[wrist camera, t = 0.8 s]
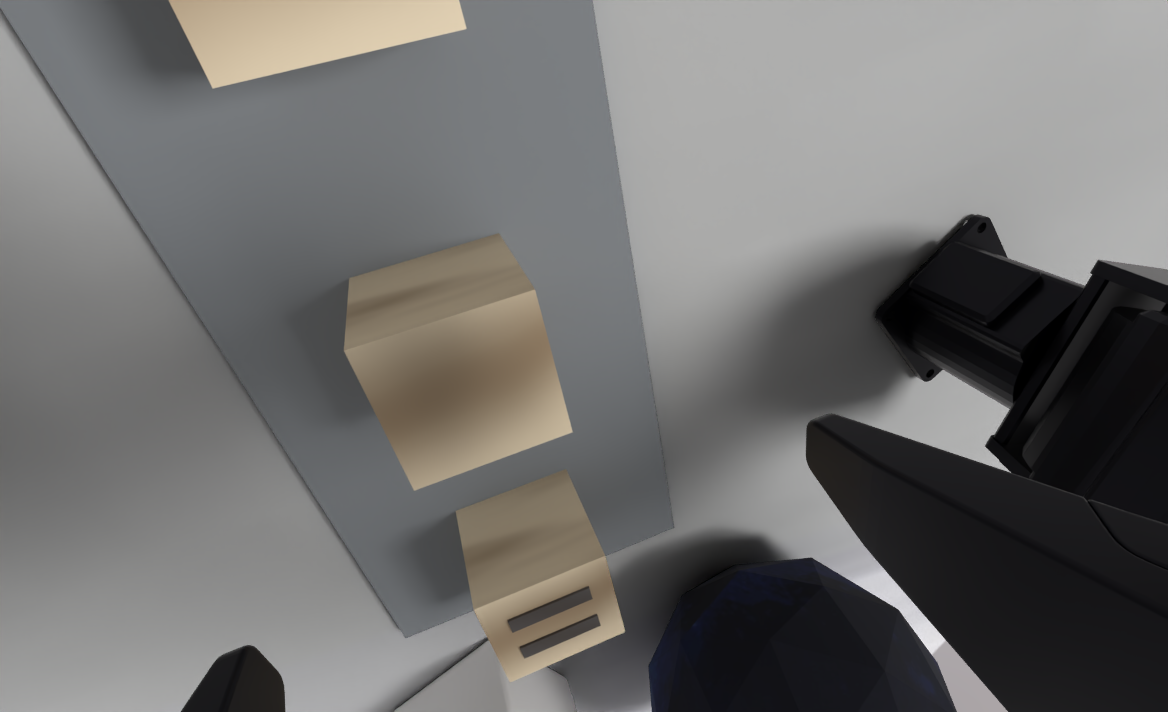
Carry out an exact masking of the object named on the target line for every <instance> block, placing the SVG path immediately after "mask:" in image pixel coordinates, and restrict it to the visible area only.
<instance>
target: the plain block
mask: <svg viewBox="0 0 1168 712" xmlns="http://www.w3.org/2000/svg"><path fill="white" fill-rule="evenodd" d="M344 352H345V354H346V356H347V358H348V360H349V362H350V364H351V366H352V368H353V370H354V372H355V374H356V376H357V378H358V380H359V382H360V384H361V386H362V388H363V390H364V392H365V394H366V396H367V398H368V400H369V402H370V404H371V406H372V408H373V410H374V412H375V414H376V416H377V418H378V420H379V422H380V424H381V426H382V428H383V430H384V432H385V434H386V436H387V438H388V440H389V442H390V444H391V446H392V448H393V450H394V452H395V454H396V456H397V458H398V460H399V462H400V464H401V466H402V468H403V470H404V472H405V474H406V476H407V478H408V480H409V482H410V484H411V486H412V488H413V490H414V491H415V490H418V489H420V488H423V487H426V486H429V485H431V484H434V483H437V482H439V481H442V480H445V479H447V478H450V477H453V476H456V475H458V474H461V473H464V472H466V471H469V470H472V469H475V468H477V467H480V466H483V465H485V464H488V463H491V462H493V461H496V460H499V459H502V458H504V457H507V456H510V455H512V454H515V453H518V452H521V451H523V450H526V449H529V448H531V447H534V446H537V445H540V444H542V443H545V442H548V441H550V440H553V439H556V438H558V437H561V436H564V435H567V434H569V433H572V432H573V431H572V427H571V424H570V420H569V416H568V412H567V409H566V405H565V401H564V397H563V393H562V390H561V386H560V382H559V378H558V374H557V371H556V367H555V363H554V359H553V356H552V352H551V348H550V344H549V340H548V337H547V333H546V329H545V325H544V321H543V318H542V314H541V310H540V306H539V303H538V299H537V295H536V291H535V289H534V287H533V285H532V284H531V282H530V281H529V279H528V278H527V276H526V275H525V273H524V271H523V270H522V268H521V267H520V265H519V264H518V262H517V261H516V259H515V257H514V256H513V254H512V253H511V251H510V250H509V248H508V247H507V245H506V243H505V242H504V240H503V239H502V237H501V236H500V234H499V233H498V234H495V235H491V236H488V237H485V238H481V239H478V240H475V241H471V242H468V243H465V244H461V245H458V246H455V247H451V248H448V249H445V250H441V251H438V252H435V253H431V254H428V255H425V256H421V257H418V258H415V259H411V260H408V261H405V262H401V263H398V264H395V265H391V266H388V267H385V268H381V269H378V270H375V271H371V272H368V273H365V274H361V275H358V276H355V277H351V278H349V289H348V302H347V315H346V329H345V342H344Z"/></svg>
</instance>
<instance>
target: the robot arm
mask: <svg viewBox="0 0 1168 712" xmlns="http://www.w3.org/2000/svg"><path fill="white" fill-rule="evenodd" d="M1090 273H1091V274H1092V276H1091V277H1090V279H1089V281H1088V282H1087V284H1086V286H1084V285H1081V284H1079V283H1076V282H1073V281H1070V280H1067V279H1065V278H1062V277H1059V276H1056V275H1053V274H1051V273H1048V272H1045V271H1042V270H1039V269H1037V268H1034V267H1031V266H1028V265H1025V264H1023V263H1020V262H1017V261H1014V260H1011V259H1009V258H1007V255H1006V253H1005V251H1004V249H1003V246H1002V244H1001V242H1000V240H999V237H998V235H997V233H996V231H995V228H994V226H993V224H992V222H991V220H990V218H989V217H985V216H982V215H976V216H974V217H972V218H971V219H970V220H969V221H968V222H967V223H966V224H965V225H964V226H963V227H962V228H961V229H960V230H959V231H958V232H957V233H956V234H955V235H953V236H952V237H951V238H950V239H949V240H948V241H947V242H946V243H945V244H944V245H943V246H942V247H941V248H940V249H939V250H938V251H937V252H936V253H935V254H934V255H933V256H932V257H931V258H930V259H929V260H928V261H927V262H926V263H925V264H924V265H923V266H922V267H921V268H920V269H919V270H918V271H917V272H915V273H914V274H913V275H912V276H911V277H910V278H909V279H908V280H907V281H906V282H905V283H904V284H903V285H902V286H901V287H900V288H899V289H898V290H897V291H896V292H895V293H894V294H893V295H892V296H891V297H890V298H889V299H888V300H887V301H886V302H885V303H884V304H883V305H882V306H881V307H880V308H879V309H878V310H877V312H876V315H875V319H876V321H877V322H878V324H879V325H880V326H881V328H882V329H883V331H884V332H885V333H886V335H887V336H888V338H889V339H890V340H891V342H892V343H893V344H894V346H895V347H896V349H897V350H898V351H899V353H900V354H901V355H902V357H903V358H904V360H905V361H906V362H907V364H908V365H909V366H910V368H911V369H912V371H913V372H914V373H915V375H916V376H917V377H918V378H920V379H921V380H923V381H925V382H927V381H930V380H932V379H933V378H934V377H935V376H936V375H937V374H938V373H939V372H941V371H942V370H945V371H946V372H948V373H950V374H952V375H953V376H955V377H957V378H958V379H960V380H962V381H963V382H965V383H967V384H968V385H970V386H972V387H974V388H975V389H977V390H979V391H980V392H982V393H984V394H985V395H987V396H989V397H990V398H992V399H994V400H996V401H997V402H999V403H1001V404H1002V405H1004V406H1006V407H1007V408H1009V409H1010V410H1009V412H1008V413H1007V415H1006V417H1005V418H1004V420H1003V422H1002V423H1001V425H1000V426H999V428H998V430H997V431H996V433H995V435H991V437H990V438H989V440H988V441H987V443H986V445H985V447H986V448H987V449H988V450H989V451H990V452H991V453H992V454H994V455H995V456H996V457H997V458H998V459H999V461H1000V462H1001V463H1002V464H1003V465H1004V466H1005V467H1006V468H1007V469H1008V470H1009V471H1010V472H1011V473H1010V472H1007V471H1004V470H1001V469H998V468H995V467H992V466H989V465H986V464H983V463H980V462H977V461H974V460H971V459H968V458H965V457H962V456H959V455H956V454H953V453H950V452H947V451H944V450H941V449H938V448H935V447H932V446H929V445H926V444H923V443H920V442H917V441H914V440H911V439H908V438H905V437H902V436H899V435H896V434H893V433H890V432H887V431H884V430H881V429H878V428H875V427H872V426H869V425H866V424H863V423H860V422H857V421H854V420H851V419H848V418H845V417H842V416H839V415H836V414H826V415H823V416H821V417H818V418H816V419H813V420H811V421H810V422H809V423H808V425H807V429H806V460H807V463H808V466H809V468H810V470H811V471H812V473H813V474H814V476H815V477H816V478H817V480H818V481H819V483H820V484H821V485H822V487H823V488H824V490H825V491H826V493H827V494H828V495H829V497H830V498H831V500H832V501H833V503H834V504H835V505H836V507H837V508H838V510H839V511H840V513H841V514H842V515H843V517H844V518H845V520H846V521H847V522H848V524H849V525H850V527H851V528H852V530H853V531H854V532H855V534H856V535H857V536H858V538H859V539H860V540H861V542H862V543H863V545H864V546H865V547H866V548H867V549H868V551H869V552H870V553H871V554H872V555H873V557H874V558H875V559H876V560H877V561H878V562H879V564H880V565H881V566H882V567H883V568H884V569H885V570H886V572H887V573H888V574H889V575H890V576H891V577H892V579H893V580H894V581H895V582H896V583H897V584H898V585H899V587H900V588H901V589H902V590H903V591H904V592H905V594H906V595H907V596H908V597H909V598H910V599H911V600H912V602H913V603H914V604H915V605H916V606H917V607H918V608H919V610H920V611H921V612H922V613H923V614H924V615H925V617H926V618H927V619H928V620H929V621H930V622H931V623H932V625H933V626H934V627H935V628H936V629H937V630H938V631H939V633H940V634H941V635H942V636H943V637H944V638H945V640H946V641H947V642H948V643H949V644H950V645H951V646H952V648H953V649H954V650H955V651H956V652H957V653H958V654H959V656H960V657H961V658H962V659H963V660H964V661H965V663H967V665H968V666H969V667H970V668H971V669H972V671H973V672H974V673H975V674H976V675H977V676H978V677H979V679H980V680H981V681H982V682H983V683H984V684H985V686H986V687H987V688H988V689H989V690H990V691H991V692H992V694H993V695H994V696H995V697H996V698H997V699H998V701H999V702H1000V703H1001V704H1002V705H1003V706H1004V707H1005V708H1006V710H1007V711H1008V712H1168V270H1166V269H1161V268H1154V267H1147V266H1139V265H1132V264H1125V263H1118V262H1111V261H1104V260H1098V261H1097V262H1096V264H1095V266H1094V267H1093V269H1092V270H1091V272H1090ZM181 712H285V692H284V684H283V680H282V677H281V675H280V674H279V672H278V671H277V670H276V669H275V668H274V667H273V665H272V664H271V663H270V662H269V661H268V660H267V659H266V658H265V657H264V656H263V655H262V654H261V653H260V651H259V650H258V649H257V648H255V647H254V646H251V645H246V646H243V647H240V648H238V649H235V650H233V651H230V652H228V653H225V654H223V655H221V656H220V657H219V658H218V659H217V660H216V661H215V662H214V663H213V665H212V666H211V668H210V669H209V671H208V672H207V674H206V675H205V677H204V678H203V680H202V681H201V683H200V684H199V685H198V687H197V688H196V690H195V691H194V693H193V694H192V696H191V697H190V699H189V700H188V702H187V703H186V705H185V706H184V708H183V709H182V711H181Z"/></svg>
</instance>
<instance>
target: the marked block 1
mask: <svg viewBox="0 0 1168 712" xmlns="http://www.w3.org/2000/svg"><path fill="white" fill-rule="evenodd" d="M169 2H170V4H171V6H172V8H173V10H174V12H175V14H176V16H177V18H178V20H179V22H180V24H181V26H182V28H183V30H184V32H185V34H186V36H187V38H188V40H189V42H190V44H191V46H192V48H193V50H194V52H195V54H196V56H197V58H198V60H199V62H200V64H201V66H202V68H203V70H204V72H205V74H206V76H207V78H208V80H209V82H210V84H211V86H212V88H217V87H222V86H226V85H230V84H234V83H239V82H243V81H247V80H252V79H256V78H260V77H264V76H269V75H273V74H277V73H281V72H286V71H290V70H294V69H298V68H303V67H307V66H311V65H315V64H320V63H324V62H328V61H332V60H337V59H341V58H345V57H349V56H354V55H358V54H362V53H366V52H371V51H375V50H379V49H384V48H388V47H392V46H396V45H401V44H405V43H409V42H413V41H418V40H422V39H426V38H430V37H435V36H439V35H443V34H447V33H452V32H456V31H460V30H464V29H467V28H466V25H465V21H464V17H463V13H462V10H461V6H460V2H459V0H169Z"/></svg>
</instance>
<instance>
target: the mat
mask: <svg viewBox="0 0 1168 712" xmlns="http://www.w3.org/2000/svg"><path fill="white" fill-rule="evenodd" d="M459 2H460V6H461V10H462V13H463V17H464V21H465V25H466V28H467V29H464V30H460V31H456V32H452V33H447V34H443V35H439V36H435V37H430V38H426V39H422V40H418V41H413V42H409V43H405V44H401V45H396V46H392V47H388V48H384V49H379V50H375V51H371V52H366V53H362V54H358V55H354V56H349V57H345V58H341V59H337V60H332V61H328V62H324V63H320V64H315V65H311V66H307V67H303V68H298V69H294V70H290V71H286V72H281V73H277V74H273V75H269V76H264V77H260V78H256V79H252V80H247V81H243V82H239V83H234V84H230V85H226V86H222V87H217V88H212V86H211V84H210V82H209V80H208V78H207V76H206V74H205V72H204V70H203V68H202V66H201V64H200V62H199V60H198V58H197V56H196V54H195V52H194V50H193V48H192V46H191V44H190V42H189V40H188V38H187V36H186V34H185V32H184V30H183V28H182V26H181V24H180V22H179V20H178V18H177V16H176V14H175V12H174V10H173V8H172V6H171V4H170V2H169V0H0V8H1V10H2V11H3V13H4V15H5V16H6V18H7V19H8V21H9V22H10V24H11V25H12V27H13V29H14V30H15V32H16V33H17V35H18V36H19V38H20V39H21V41H22V43H23V44H24V46H25V47H26V49H27V50H28V52H29V53H30V55H31V57H32V58H33V60H34V61H35V63H36V64H37V66H38V67H39V69H40V71H41V72H42V74H43V75H44V77H45V78H46V80H47V81H48V83H49V85H50V86H51V88H52V89H53V91H54V92H55V94H56V95H57V97H58V99H59V100H60V102H61V103H62V105H63V106H64V108H65V109H66V111H67V113H68V114H69V116H70V117H71V119H72V120H73V122H74V123H75V125H76V127H77V128H78V130H79V131H80V133H81V134H82V136H83V137H84V139H85V141H86V142H87V144H88V145H89V147H90V148H91V150H92V151H93V153H94V154H95V156H96V158H97V159H98V161H99V162H100V164H101V165H102V167H103V168H104V170H105V172H106V173H107V175H108V176H109V178H110V179H111V181H112V182H113V184H114V186H115V187H116V189H117V190H118V192H119V193H120V195H121V196H122V198H123V200H124V201H125V203H126V204H127V206H128V207H129V209H130V210H131V212H132V214H133V215H134V217H135V218H136V220H137V221H138V223H139V224H140V226H141V228H142V229H143V231H144V232H145V234H146V235H147V237H148V238H149V240H150V242H151V243H152V245H153V246H154V248H155V249H156V251H157V252H158V254H159V256H160V257H161V259H162V260H163V262H164V263H165V265H166V266H167V268H168V270H169V271H170V273H171V274H172V276H173V277H174V279H175V280H176V282H177V284H178V285H179V287H180V288H181V290H182V291H183V293H184V294H185V296H186V298H187V299H188V301H189V302H190V304H191V305H192V307H193V308H194V310H195V312H196V313H197V315H198V316H199V318H200V319H201V321H202V322H203V324H204V326H205V327H206V329H207V330H208V332H209V333H210V335H211V336H212V338H213V340H214V341H215V343H216V344H217V346H218V347H219V349H220V350H221V352H222V354H223V355H224V357H225V358H226V360H227V361H228V363H229V364H230V366H231V368H232V369H233V371H234V372H235V374H236V375H237V377H238V378H239V380H240V382H241V383H242V385H243V386H244V388H245V389H246V391H247V392H248V394H249V396H250V397H251V399H252V400H253V402H254V403H255V405H256V406H257V408H258V410H259V411H260V413H261V414H262V416H263V417H264V419H265V420H266V422H267V424H268V425H269V427H270V428H271V430H272V431H273V433H274V434H275V436H276V438H277V439H278V441H279V442H280V444H281V445H282V447H283V448H284V450H285V451H286V453H287V455H288V456H289V458H290V459H291V461H292V462H293V464H294V465H295V467H296V469H297V470H298V472H299V473H300V475H301V476H302V478H303V479H304V481H305V483H306V484H307V486H308V487H309V489H310V490H311V492H312V493H313V495H314V497H315V498H316V500H317V501H318V503H319V504H320V506H321V507H322V509H323V511H324V512H325V514H326V515H327V517H328V518H329V520H330V521H331V523H332V525H333V526H334V528H335V529H336V531H337V532H338V534H339V535H340V537H341V539H342V540H343V542H344V543H345V545H346V546H347V548H348V549H349V551H350V553H351V554H352V556H353V557H354V559H355V560H356V562H357V563H358V565H359V567H360V568H361V570H362V571H363V573H364V574H365V576H366V577H367V579H368V581H369V582H370V584H371V585H372V587H373V588H374V590H375V591H376V593H377V595H378V596H379V598H380V599H381V601H382V602H383V604H384V605H385V607H386V609H387V610H388V612H389V613H390V615H391V616H392V618H393V619H394V621H395V623H396V624H397V626H398V627H399V629H400V630H401V632H402V633H403V635H404V637H405V638H408V637H410V636H412V635H415V634H417V633H420V632H422V631H425V630H427V629H429V628H432V627H434V626H437V625H439V624H442V623H444V622H446V621H449V620H451V619H454V618H456V617H459V616H461V615H463V614H466V613H468V612H471V611H473V610H474V609H473V604H472V598H471V593H470V587H469V582H468V576H467V571H466V565H465V560H464V554H463V549H462V543H461V538H460V532H459V527H458V521H457V516H456V511H457V510H460V509H462V508H465V507H467V506H470V505H473V504H475V503H478V502H481V501H483V500H486V499H488V498H491V497H494V496H496V495H499V494H502V493H504V492H507V491H510V490H512V489H515V488H517V487H520V486H523V485H525V484H528V483H531V482H533V481H536V480H538V479H541V478H544V477H546V476H549V475H552V474H554V473H557V472H559V471H562V470H565V469H566V470H567V472H568V474H569V477H570V479H571V481H572V483H573V485H574V488H575V490H576V492H577V494H578V497H579V499H580V501H581V503H582V505H583V508H584V510H585V512H586V514H587V517H588V519H589V521H590V523H591V525H592V528H593V530H594V532H595V534H596V536H597V539H598V541H599V543H600V545H601V548H602V550H603V552H604V554H605V556H606V555H609V554H611V553H614V552H616V551H619V550H621V549H623V548H626V547H628V546H631V545H633V544H636V543H638V542H640V541H643V540H645V539H648V538H650V537H652V536H655V535H657V534H660V533H662V532H665V531H667V530H669V529H672V528H674V524H673V517H672V511H671V504H670V498H669V491H668V485H667V478H666V472H665V465H664V459H663V453H662V446H661V440H660V433H659V427H658V420H657V414H656V407H655V401H654V394H653V388H652V381H651V375H650V369H649V362H648V356H647V349H646V343H645V336H644V330H643V323H642V317H641V310H640V304H639V298H638V291H637V285H636V278H635V272H634V265H633V259H632V252H631V246H630V239H629V233H628V226H627V220H626V214H625V207H624V201H623V194H622V188H621V181H620V175H619V168H618V162H617V155H616V149H615V143H614V136H613V130H612V123H611V117H610V110H609V104H608V97H607V91H606V84H605V78H604V71H603V65H602V59H601V52H600V46H599V39H598V33H597V26H596V20H595V13H594V7H593V0H459ZM498 233H499V234H500V236H501V237H502V239H503V240H504V242H505V243H506V245H507V247H508V248H509V250H510V251H511V253H512V254H513V256H514V257H515V259H516V261H517V262H518V264H519V265H520V267H521V268H522V270H523V271H524V273H525V275H526V276H527V278H528V279H529V281H530V282H531V284H532V285H533V287H534V289H535V291H536V295H537V299H538V303H539V306H540V310H541V314H542V318H543V321H544V325H545V329H546V333H547V337H548V340H549V344H550V348H551V352H552V356H553V359H554V363H555V367H556V371H557V374H558V378H559V382H560V386H561V390H562V393H563V397H564V401H565V405H566V409H567V412H568V416H569V420H570V424H571V427H572V431H573V432H572V433H569V434H567V435H564V436H561V437H558V438H556V439H553V440H550V441H548V442H545V443H542V444H540V445H537V446H534V447H531V448H529V449H526V450H523V451H521V452H518V453H515V454H512V455H510V456H507V457H504V458H502V459H499V460H496V461H493V462H491V463H488V464H485V465H483V466H480V467H477V468H475V469H472V470H469V471H466V472H464V473H461V474H458V475H456V476H453V477H450V478H447V479H445V480H442V481H439V482H437V483H434V484H431V485H429V486H426V487H423V488H420V489H418V490H415V491H414V490H413V488H412V486H411V484H410V482H409V480H408V478H407V476H406V474H405V472H404V470H403V468H402V466H401V464H400V462H399V460H398V458H397V456H396V454H395V452H394V450H393V448H392V446H391V444H390V442H389V440H388V438H387V436H386V434H385V432H384V430H383V428H382V426H381V424H380V422H379V420H378V418H377V416H376V414H375V412H374V410H373V408H372V406H371V404H370V402H369V400H368V398H367V396H366V394H365V392H364V390H363V388H362V386H361V384H360V382H359V380H358V378H357V376H356V374H355V372H354V370H353V368H352V366H351V364H350V362H349V360H348V358H347V356H346V354H345V352H344V342H345V329H346V315H347V302H348V289H349V278H351V277H355V276H358V275H361V274H365V273H368V272H371V271H375V270H378V269H381V268H385V267H388V266H391V265H395V264H398V263H401V262H405V261H408V260H411V259H415V258H418V257H421V256H425V255H428V254H431V253H435V252H438V251H441V250H445V249H448V248H451V247H455V246H458V245H461V244H465V243H468V242H471V241H475V240H478V239H481V238H485V237H488V236H491V235H495V234H498Z"/></svg>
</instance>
